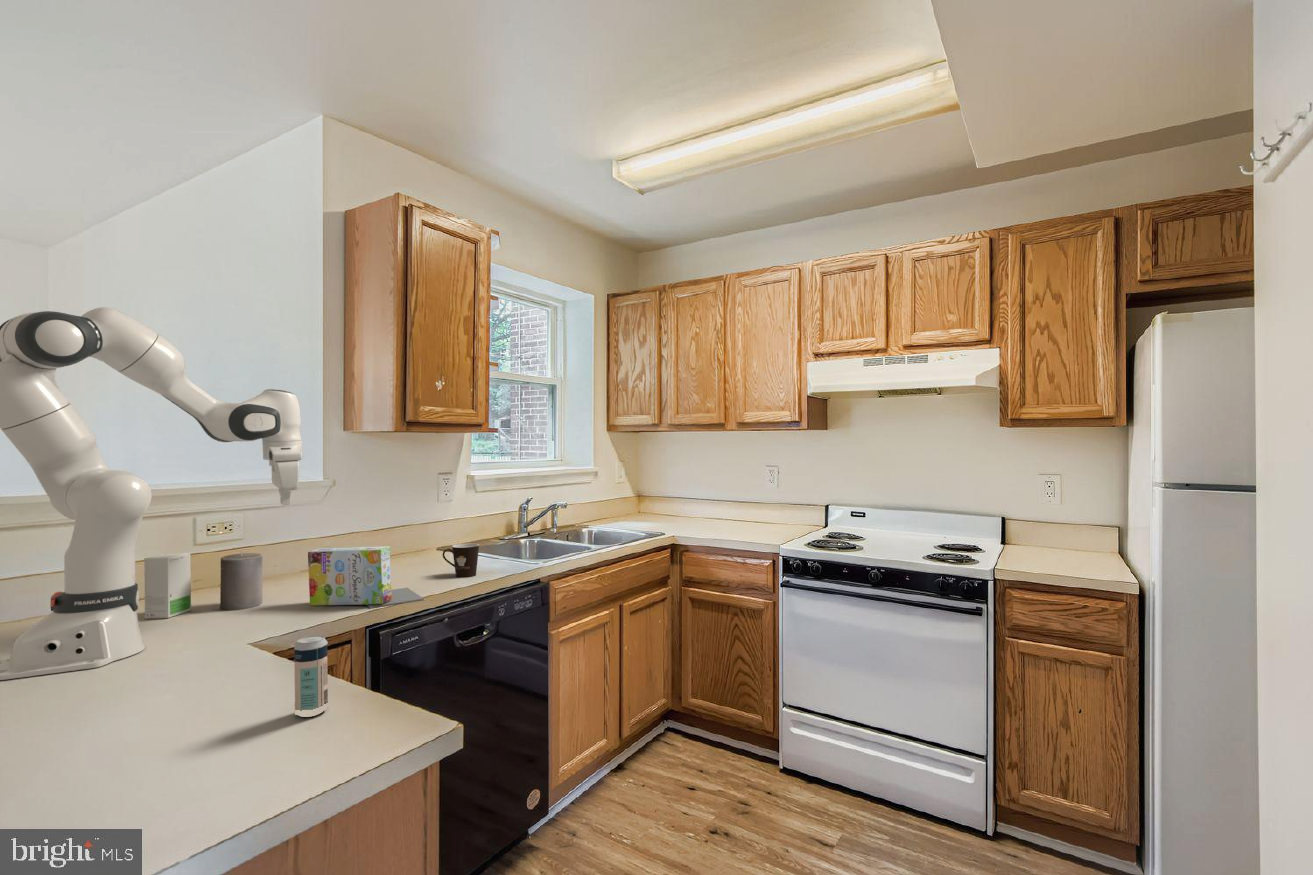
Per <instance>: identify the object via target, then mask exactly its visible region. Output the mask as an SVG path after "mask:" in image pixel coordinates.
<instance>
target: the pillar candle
mask: <svg viewBox="0 0 1313 875" xmlns="http://www.w3.org/2000/svg"><path fill="white" fill-rule="evenodd" d="M219 591H220V593H219V594H220V600H219V601H220V605H219V608H220V609H221V610H223V611H237V610H238V611H240V610H247V609H252V608H256V607H258V606H260V605H261V604H262V603H263V553H258V552H245V553H244V552H243V550H242V551H240V553H236V554H233V553H232V554H227V555H224V556H222V557H220V590H219ZM255 606H256V607H255Z"/></svg>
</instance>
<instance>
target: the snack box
mask: <svg viewBox="0 0 1313 875" xmlns="http://www.w3.org/2000/svg"><path fill="white" fill-rule="evenodd" d="M390 550H391V546H390V545H388V546H360V547H359V546H357V547H356V546H355V547H329V548H325V547H323V548H321V547H320V548H316V549H313V550H310V551H308V552H307V562H308V564H307V567H308V585H309V586H308V587H309V588H308V593H309V606H311V607H312V606H357V605H359V606H361V605H362V606H364V605H365V606H367V604H383V603H386V602H388V601H390V600H392V594H391V590H392V575H391V574H392V573H391V572H392V571H391V551H390Z"/></svg>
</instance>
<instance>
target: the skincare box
mask: <svg viewBox="0 0 1313 875" xmlns="http://www.w3.org/2000/svg"><path fill="white" fill-rule="evenodd" d="M143 561H144V619H146V620H148V619H149V620H150V619H151V620H152V619H153V620H154V619H158V620H159V619H170V618H172V617H175V616H178V615H182V614H185V613H187V612H188V613H189V612H190V611H192V585H191V584H192V582H191V581H192V579H191V577H192V574H191V570H192V569H191V568H192V567H191V566H192V565H191V552H180V553H166V554H160V555H154V556H149V557H144V559H143Z"/></svg>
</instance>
